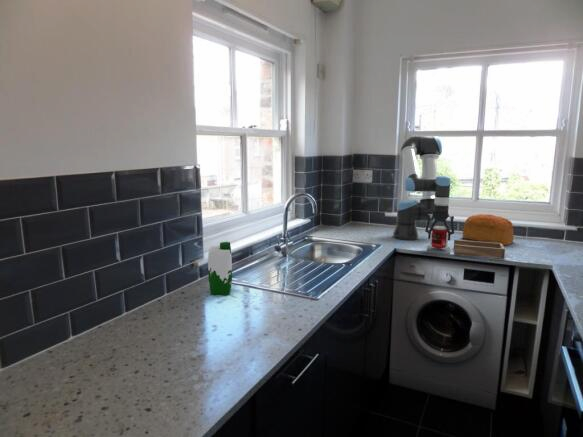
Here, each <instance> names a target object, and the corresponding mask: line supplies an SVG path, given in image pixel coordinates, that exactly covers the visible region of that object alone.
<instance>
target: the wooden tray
mask: <svg viewBox="0 0 583 437" xmlns="http://www.w3.org/2000/svg"><path fill="white" fill-rule="evenodd" d="M505 253H506V249H505V245H503V244H502V243H491V242H482V241H477V240H466V239H464V240H463V239H454V241H453V254H454V255H459V256H470V257H471V256H472V257H483V258H493V259H505Z"/></svg>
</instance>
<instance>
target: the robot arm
mask: <svg viewBox="0 0 583 437" xmlns="http://www.w3.org/2000/svg"><path fill="white" fill-rule="evenodd" d="M442 152H443V143H442V139H441V138H440V137H439V136H437V135H436V136H435V135H434V136H433V135H431V136H430V135H429V136H427V135H425V136H417V135H416V136H415V135H414V136H411V137H408V138H407V139H406V140H405V141H404V142H403V143H402V145H401V148H400V155H401V157H402V158H403V161H404V167H405V168H404V169H405V173H406V178H404V184H403V187H404V191H406V192H421V193H422V196H421V198H420V199H419V202H418V200H416V199H405V200H400V201H399V202H398V203H397V209H396V211H397V212H396V224H395V227H394V231H393V233H392V234H393V235H392V237H393V238H394V239H398V240H402V241H403V240H404V241H413V240H418V239H419V232H418V230H417V229H418V228H417V222H426V225H425V231H424V232H425V233H428V235H427V236H428V240H429V245H430V246H432V245H431V244H432V230H433V227H434V226H436V224H437V223H438V222H441V223H444V227H446V228H447V238H446V247H448V242H449V241H451V236H452V235H454V234H455V230H454V229H455V227H454V219H455V215H451V214H449V208H450V206H449V204H450V194H451V193H450V192H451V184H452V183H451V177H450V176H449V175H448V176H447V175H438V171H437V170H438V168H437V160H438V159H439V158H440V156H441V154H442ZM418 156H419V159H420V160H421V165H422V166H421V171H422V172H420V167H419V166H420V165H419V163H418V162H419V161H418ZM421 174H422V175H421ZM437 175H438V176H437ZM421 176H422V177H421ZM447 219H449V220H450V228H451V230H450V228H449V225H448V222H447ZM430 223H432V224H431V226H430ZM429 226H430V228H429Z"/></svg>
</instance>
